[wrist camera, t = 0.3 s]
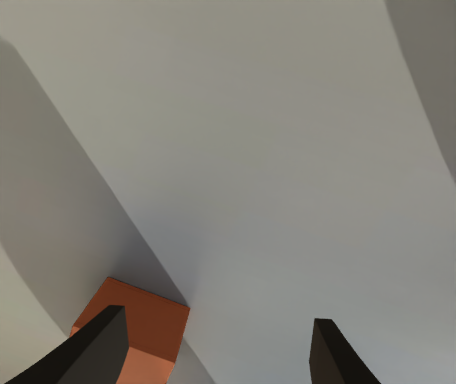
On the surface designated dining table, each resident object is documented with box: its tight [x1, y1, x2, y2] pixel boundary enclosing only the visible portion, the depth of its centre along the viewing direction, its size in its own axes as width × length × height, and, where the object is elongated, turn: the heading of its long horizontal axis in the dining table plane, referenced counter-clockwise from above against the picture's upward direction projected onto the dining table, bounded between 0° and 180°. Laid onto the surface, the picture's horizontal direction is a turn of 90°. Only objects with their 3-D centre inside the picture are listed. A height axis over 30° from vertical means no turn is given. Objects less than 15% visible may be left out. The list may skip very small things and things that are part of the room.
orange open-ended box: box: [69, 277, 190, 384], centre depth 23 cm, size 6×5×5 cm
